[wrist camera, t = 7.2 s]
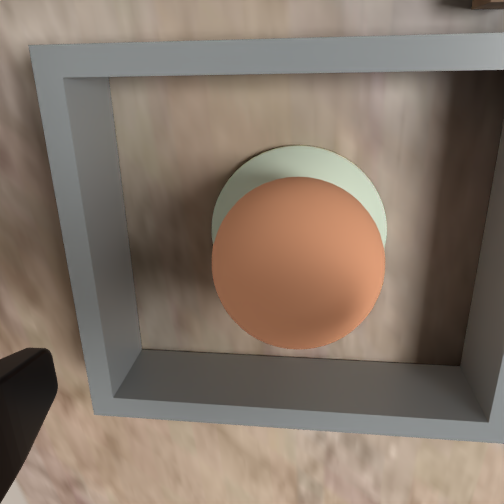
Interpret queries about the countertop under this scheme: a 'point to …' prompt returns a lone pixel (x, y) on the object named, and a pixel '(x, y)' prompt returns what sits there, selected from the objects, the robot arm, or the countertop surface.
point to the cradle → (487, 4)
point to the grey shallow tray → (241, 182)
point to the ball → (298, 263)
